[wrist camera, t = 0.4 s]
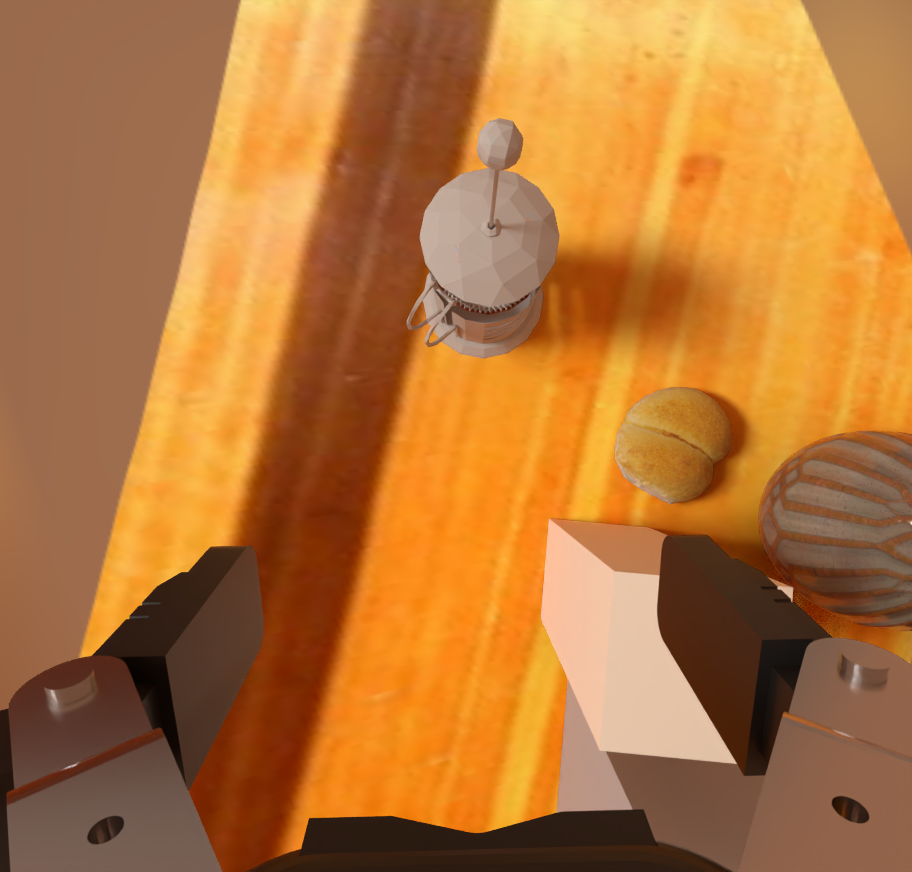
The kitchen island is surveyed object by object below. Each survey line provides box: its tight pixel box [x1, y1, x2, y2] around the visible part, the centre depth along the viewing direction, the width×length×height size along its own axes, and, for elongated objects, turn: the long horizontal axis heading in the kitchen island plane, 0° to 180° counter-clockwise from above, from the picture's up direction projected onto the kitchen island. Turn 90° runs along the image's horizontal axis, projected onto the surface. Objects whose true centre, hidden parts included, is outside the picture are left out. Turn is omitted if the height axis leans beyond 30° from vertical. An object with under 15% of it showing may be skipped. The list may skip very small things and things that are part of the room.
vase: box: [758, 431, 912, 631], centre depth 39 cm, size 13×13×18 cm
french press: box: [407, 118, 559, 358], centre depth 36 cm, size 10×12×25 cm
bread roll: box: [615, 387, 733, 504], centre depth 46 cm, size 8×9×4 cm
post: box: [541, 519, 793, 764], centre depth 37 cm, size 8×8×21 cm
